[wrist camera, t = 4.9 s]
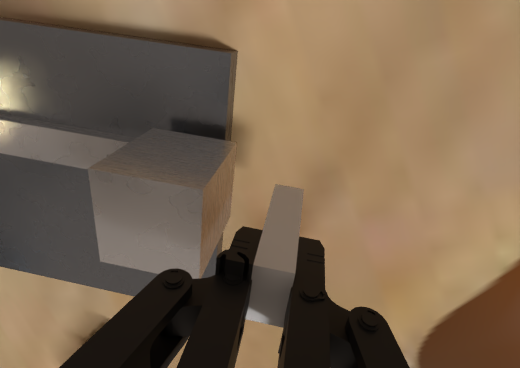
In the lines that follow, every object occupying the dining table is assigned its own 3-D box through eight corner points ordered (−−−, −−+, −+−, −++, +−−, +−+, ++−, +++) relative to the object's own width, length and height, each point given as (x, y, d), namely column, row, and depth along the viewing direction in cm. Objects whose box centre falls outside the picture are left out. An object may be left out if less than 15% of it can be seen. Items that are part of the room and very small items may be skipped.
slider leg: (159, 259, 24) (109, 331, 18) (155, 126, 19) (87, 168, 14) (225, 273, 23) (196, 351, 18) (238, 140, 19) (202, 189, 13)
